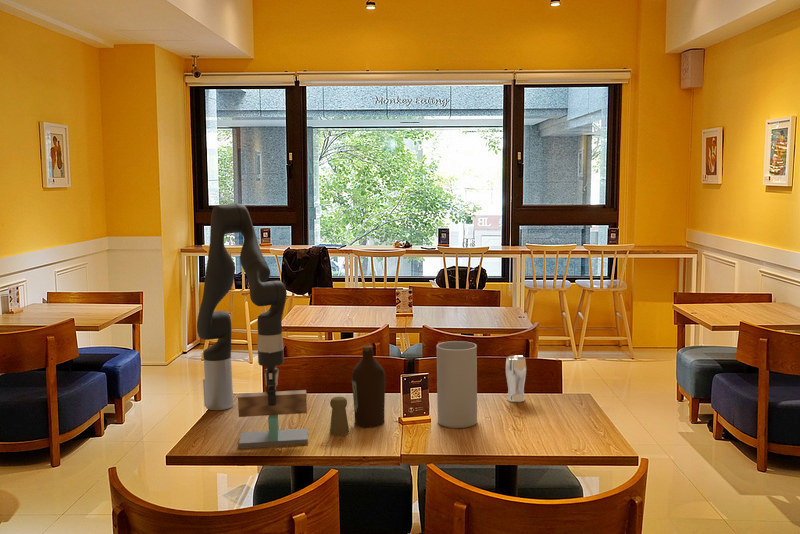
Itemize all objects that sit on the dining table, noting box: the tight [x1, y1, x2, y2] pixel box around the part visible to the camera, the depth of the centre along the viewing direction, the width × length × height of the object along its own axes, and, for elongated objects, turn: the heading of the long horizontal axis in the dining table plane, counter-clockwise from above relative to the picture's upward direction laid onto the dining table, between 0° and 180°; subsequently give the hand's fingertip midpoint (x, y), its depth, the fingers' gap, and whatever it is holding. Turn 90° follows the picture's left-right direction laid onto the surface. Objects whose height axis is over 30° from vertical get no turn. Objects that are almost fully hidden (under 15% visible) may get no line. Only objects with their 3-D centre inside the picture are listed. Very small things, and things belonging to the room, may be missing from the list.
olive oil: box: [351, 344, 386, 428], centre depth 251 cm, size 11×11×25 cm
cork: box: [329, 396, 350, 436], centre depth 243 cm, size 6×6×11 cm
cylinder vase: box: [436, 340, 478, 429], centre depth 249 cm, size 12×12×25 cm
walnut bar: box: [237, 389, 308, 418], centre depth 236 cm, size 20×4×6 cm, turn 97°
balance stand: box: [238, 415, 309, 449], centre depth 237 cm, size 20×10×8 cm, turn 97°
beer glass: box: [505, 355, 527, 403], centre depth 273 cm, size 7×7×15 cm
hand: (272, 401), depth 236 cm, fingers open, 8 cm apart
